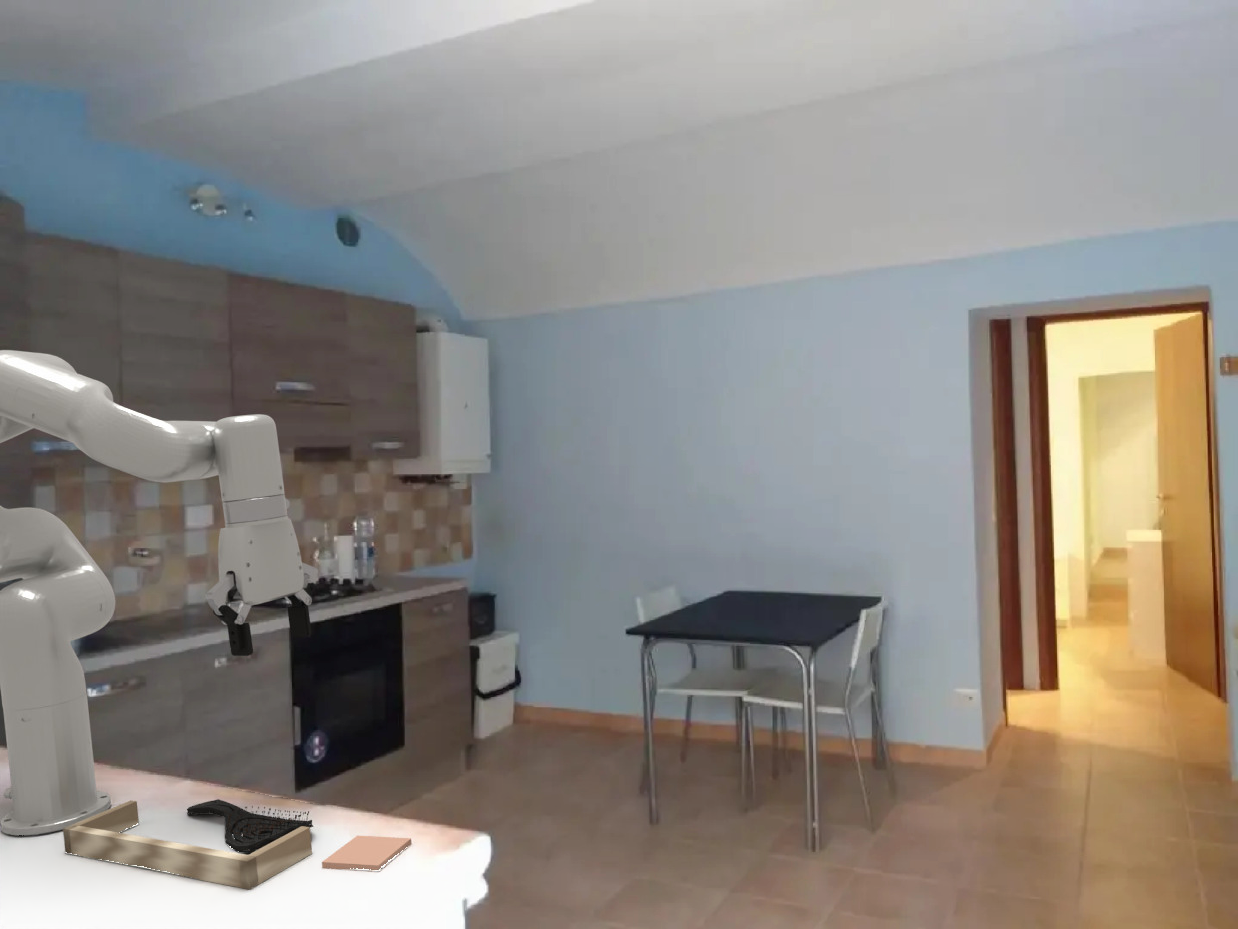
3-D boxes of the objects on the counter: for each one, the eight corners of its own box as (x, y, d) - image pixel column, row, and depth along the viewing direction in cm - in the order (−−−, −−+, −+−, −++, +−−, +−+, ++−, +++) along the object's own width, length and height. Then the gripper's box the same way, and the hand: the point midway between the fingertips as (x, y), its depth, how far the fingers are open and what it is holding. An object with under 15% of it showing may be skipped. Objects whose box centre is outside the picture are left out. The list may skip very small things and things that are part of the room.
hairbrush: (220, 780, 132) (327, 805, 116) (223, 807, 132) (331, 836, 116) (158, 802, 126) (262, 831, 110) (162, 830, 126) (266, 864, 110)
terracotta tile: (322, 873, 108) (321, 862, 108) (358, 845, 114) (357, 835, 114) (379, 876, 105) (378, 865, 105) (412, 848, 112) (411, 838, 112)
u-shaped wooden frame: (65, 853, 117) (62, 828, 117) (132, 823, 125) (130, 800, 125) (249, 889, 104) (247, 861, 103) (312, 853, 112) (309, 827, 111)
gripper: (286, 506, 135) (302, 630, 136) (177, 523, 120) (196, 663, 120) (326, 502, 131) (343, 629, 132) (220, 519, 116) (238, 663, 117)
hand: (272, 645), depth 126 cm, fingers open, 9 cm apart
